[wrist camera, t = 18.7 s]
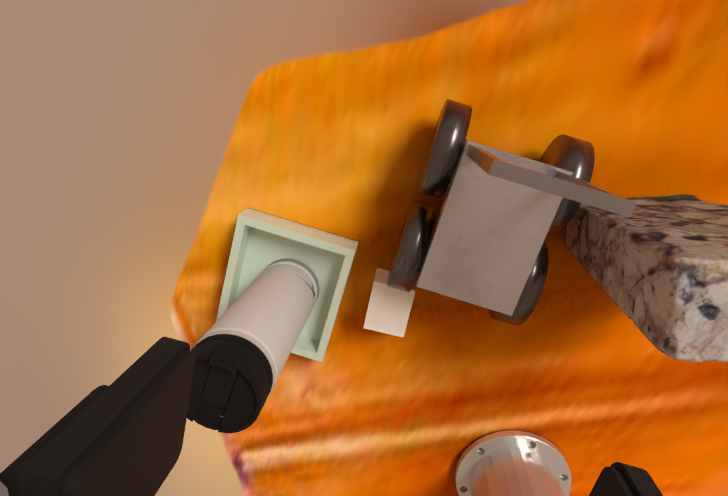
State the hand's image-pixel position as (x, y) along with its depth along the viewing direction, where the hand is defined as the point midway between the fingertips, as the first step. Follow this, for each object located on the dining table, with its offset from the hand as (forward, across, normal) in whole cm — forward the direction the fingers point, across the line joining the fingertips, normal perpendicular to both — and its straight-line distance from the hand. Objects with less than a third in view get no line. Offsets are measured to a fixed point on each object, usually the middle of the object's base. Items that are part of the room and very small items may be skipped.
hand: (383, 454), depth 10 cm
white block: (+36, -2, +11) cm, 38 cm away
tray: (+36, +9, +13) cm, 39 cm away
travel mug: (+36, +9, +13) cm, 39 cm away
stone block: (+36, -22, -2) cm, 42 cm away
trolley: (+36, -7, 0) cm, 37 cm away
